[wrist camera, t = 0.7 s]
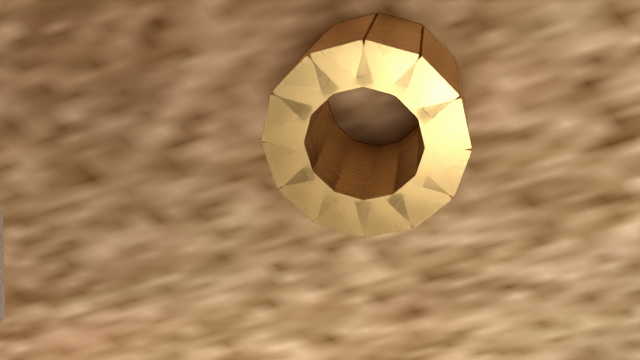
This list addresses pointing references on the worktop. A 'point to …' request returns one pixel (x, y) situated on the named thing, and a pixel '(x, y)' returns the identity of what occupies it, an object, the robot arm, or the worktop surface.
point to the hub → (362, 159)
